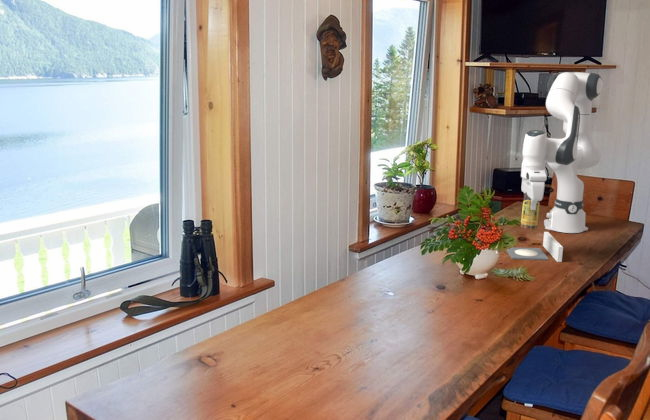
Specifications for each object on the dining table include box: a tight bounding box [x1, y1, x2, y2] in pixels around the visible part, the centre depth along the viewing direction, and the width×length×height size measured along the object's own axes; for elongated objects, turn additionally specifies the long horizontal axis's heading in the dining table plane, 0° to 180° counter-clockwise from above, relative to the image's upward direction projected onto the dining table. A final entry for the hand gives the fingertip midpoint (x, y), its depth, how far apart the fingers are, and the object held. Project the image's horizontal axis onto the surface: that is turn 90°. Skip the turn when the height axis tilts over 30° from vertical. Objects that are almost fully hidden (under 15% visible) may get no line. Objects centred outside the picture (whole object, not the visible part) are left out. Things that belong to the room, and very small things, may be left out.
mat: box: [505, 246, 550, 261], centre depth 247 cm, size 14×14×1 cm
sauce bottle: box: [520, 192, 541, 231], centre depth 243 cm, size 7×6×20 cm
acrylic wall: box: [542, 231, 564, 263], centre depth 248 cm, size 22×2×6 cm, turn 175°
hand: (530, 207), depth 243 cm, fingers closed on sauce bottle, 6 cm apart
